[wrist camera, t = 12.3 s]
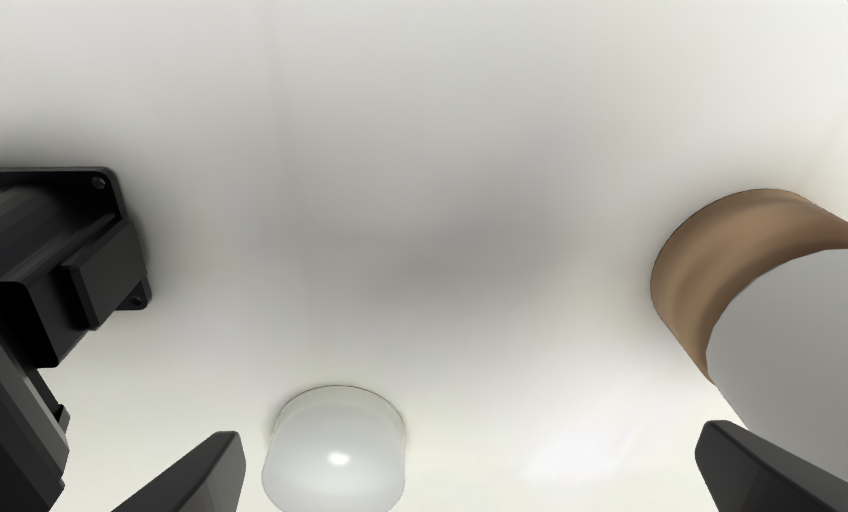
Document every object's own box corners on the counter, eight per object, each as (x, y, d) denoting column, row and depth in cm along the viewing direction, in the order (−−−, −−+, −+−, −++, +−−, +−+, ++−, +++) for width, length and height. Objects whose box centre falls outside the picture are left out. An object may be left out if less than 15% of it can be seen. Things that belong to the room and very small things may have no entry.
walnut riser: (634, 341, 25) (671, 399, 22) (673, 189, 22) (725, 231, 18) (792, 338, 26) (854, 395, 22) (857, 187, 22) (944, 228, 18)
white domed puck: (283, 479, 29) (272, 528, 27) (266, 387, 26) (250, 433, 23) (406, 475, 30) (406, 524, 27) (404, 384, 26) (403, 429, 24)
